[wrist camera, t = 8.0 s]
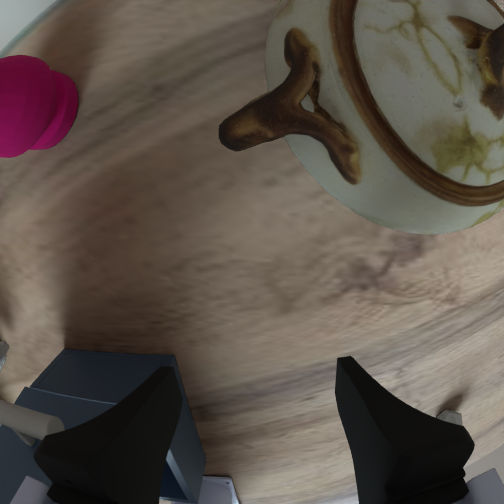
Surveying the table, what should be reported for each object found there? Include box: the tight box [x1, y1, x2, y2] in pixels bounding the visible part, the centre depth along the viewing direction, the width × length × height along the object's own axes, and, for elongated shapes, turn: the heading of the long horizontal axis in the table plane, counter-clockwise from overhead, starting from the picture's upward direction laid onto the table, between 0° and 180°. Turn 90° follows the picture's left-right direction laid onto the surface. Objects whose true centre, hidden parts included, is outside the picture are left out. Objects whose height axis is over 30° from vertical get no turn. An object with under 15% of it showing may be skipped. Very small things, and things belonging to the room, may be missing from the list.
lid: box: [0, 387, 116, 504], centre depth 10 cm, size 15×12×4 cm
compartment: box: [30, 349, 206, 504], centre depth 23 cm, size 15×12×6 cm
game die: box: [436, 410, 462, 425], centre depth 24 cm, size 4×4×3 cm
